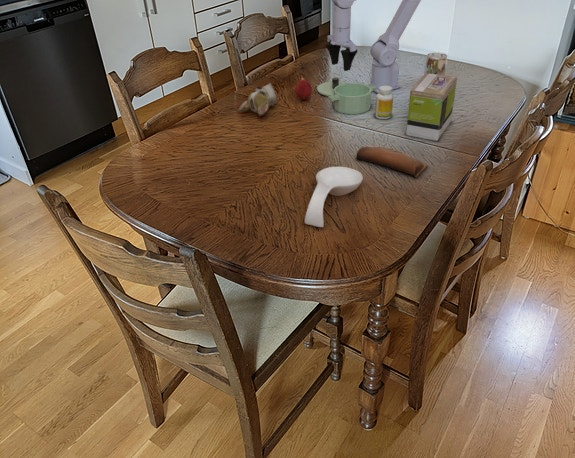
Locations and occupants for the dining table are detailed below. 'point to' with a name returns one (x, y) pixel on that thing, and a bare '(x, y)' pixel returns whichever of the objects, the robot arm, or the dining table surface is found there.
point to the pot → (352, 98)
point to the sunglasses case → (391, 159)
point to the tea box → (431, 106)
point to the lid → (329, 87)
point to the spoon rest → (330, 190)
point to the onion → (303, 89)
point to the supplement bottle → (384, 102)
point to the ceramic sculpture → (259, 100)
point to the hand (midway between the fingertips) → (340, 67)
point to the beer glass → (436, 63)
